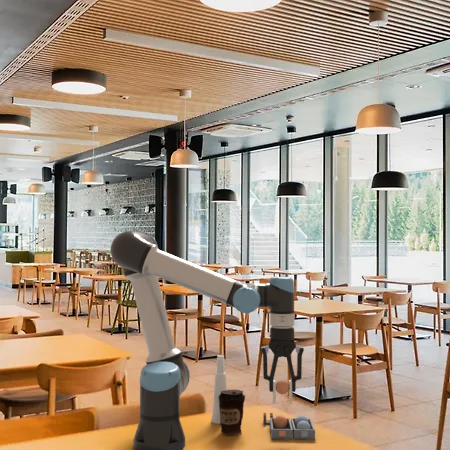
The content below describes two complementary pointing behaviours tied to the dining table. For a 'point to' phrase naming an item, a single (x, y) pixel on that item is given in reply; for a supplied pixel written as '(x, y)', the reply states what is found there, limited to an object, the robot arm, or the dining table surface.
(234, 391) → the coffee cup
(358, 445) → the dining table surface
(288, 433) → the grey sorting trays
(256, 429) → the dining table surface
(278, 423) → the rust ball
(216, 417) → the cosmetic bottle
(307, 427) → the slate ball
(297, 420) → the slate ball
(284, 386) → the orange ball
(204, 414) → the dining table surface
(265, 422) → the ball stand
